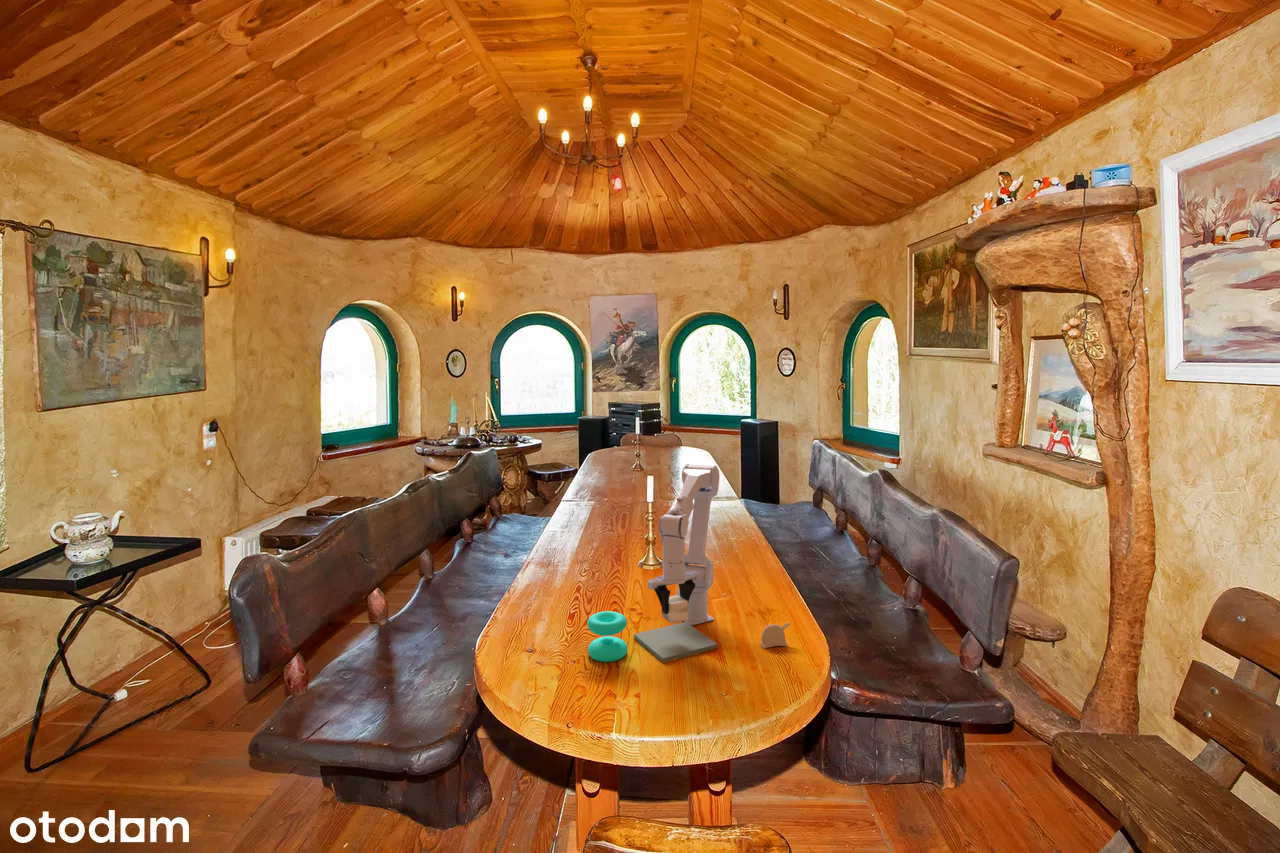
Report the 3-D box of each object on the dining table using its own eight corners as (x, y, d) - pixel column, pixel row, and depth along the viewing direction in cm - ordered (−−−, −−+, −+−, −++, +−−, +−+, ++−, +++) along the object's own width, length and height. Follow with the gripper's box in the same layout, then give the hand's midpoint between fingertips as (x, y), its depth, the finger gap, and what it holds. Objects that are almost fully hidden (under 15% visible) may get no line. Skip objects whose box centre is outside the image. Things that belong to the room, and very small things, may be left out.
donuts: (634, 617, 170) (602, 628, 163) (635, 655, 171) (604, 667, 164) (610, 606, 177) (579, 616, 171) (611, 642, 178) (580, 654, 172)
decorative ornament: (757, 642, 177) (757, 622, 176) (787, 639, 178) (788, 620, 177) (762, 649, 173) (762, 629, 172) (793, 646, 174) (793, 626, 173)
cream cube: (661, 616, 177) (661, 598, 176) (678, 612, 179) (677, 594, 179) (671, 623, 173) (670, 604, 172) (687, 619, 175) (687, 601, 174)
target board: (634, 638, 180) (634, 634, 180) (685, 625, 188) (685, 621, 187) (663, 663, 166) (663, 658, 166) (717, 648, 173) (717, 644, 173)
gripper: (656, 569, 167) (657, 621, 169) (705, 559, 174) (706, 610, 176) (643, 561, 174) (644, 612, 175) (691, 552, 180) (692, 601, 182)
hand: (674, 610), depth 176 cm, fingers closed on cream cube, 5 cm apart
